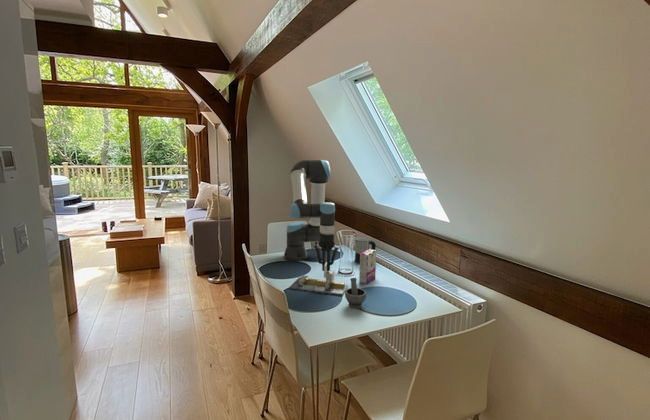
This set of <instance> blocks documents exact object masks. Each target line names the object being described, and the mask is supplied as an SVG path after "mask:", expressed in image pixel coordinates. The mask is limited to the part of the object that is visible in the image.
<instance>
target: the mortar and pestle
mask: <svg viewBox="0 0 650 420" xmlns="http://www.w3.org/2000/svg"><path fill="white" fill-rule="evenodd" d="M357 285H358V284H357V278H356V277H351V278H350V287H351V288H347V289H346V291H345V292H344V295H345V299H346V301H347V302H348V307H349V308H350V309H354V310H359V309H361V308H362V307H363V303H364V302H365V301H366V298H367V291H366V290H365V289H363V288H360V287H358V286H357ZM361 306H362V307H361ZM360 307H361V308H360ZM358 308H359V309H358Z"/></svg>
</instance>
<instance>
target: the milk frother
mask: <svg viewBox="0 0 650 420" xmlns="http://www.w3.org/2000/svg"><path fill="white" fill-rule="evenodd" d="M354 240H355V245H354V246H355V249H354V250H355V253H354V262H355V263H357V264H360V254H361V253H363V252H364V251H366V250H368V249H372V250H376V243H375V241H373V240H370V238H368V237H356V238H355V239H354ZM370 245H371V247H370Z"/></svg>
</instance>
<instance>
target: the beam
mask: <svg viewBox="0 0 650 420" xmlns="http://www.w3.org/2000/svg"><path fill="white" fill-rule="evenodd" d="M297 279H298V282H299V286H302V285H303V284H304V283H310V284H317V285H324V286H325V281H326V279H324V280H323V279H318V278H317V279H316V278H309V276H308V275H302V276H301V277H300V276H299V277H298V278H297ZM345 285H346V283H345V282H339V281H333V282H332V283H330V284H329V286H332V287H339V288H344V287H345Z"/></svg>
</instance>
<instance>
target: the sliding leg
mask: <svg viewBox="0 0 650 420" xmlns="http://www.w3.org/2000/svg"><path fill="white" fill-rule="evenodd" d="M332 282H335V270H331V269H330V271H328V272H327V273H326V278H325V289H329V284H330V283H332Z"/></svg>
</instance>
